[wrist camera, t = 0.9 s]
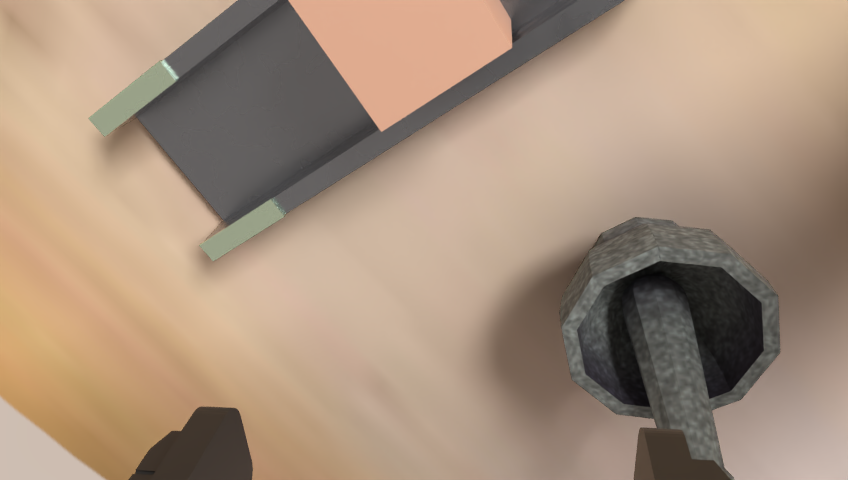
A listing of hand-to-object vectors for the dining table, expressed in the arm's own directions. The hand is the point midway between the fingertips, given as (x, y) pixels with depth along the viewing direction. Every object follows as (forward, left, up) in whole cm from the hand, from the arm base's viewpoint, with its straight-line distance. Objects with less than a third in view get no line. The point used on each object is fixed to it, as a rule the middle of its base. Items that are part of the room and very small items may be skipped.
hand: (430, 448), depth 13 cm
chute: (+2, -6, -23) cm, 24 cm away
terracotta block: (-1, -6, -22) cm, 23 cm away
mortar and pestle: (-3, +13, -23) cm, 27 cm away
